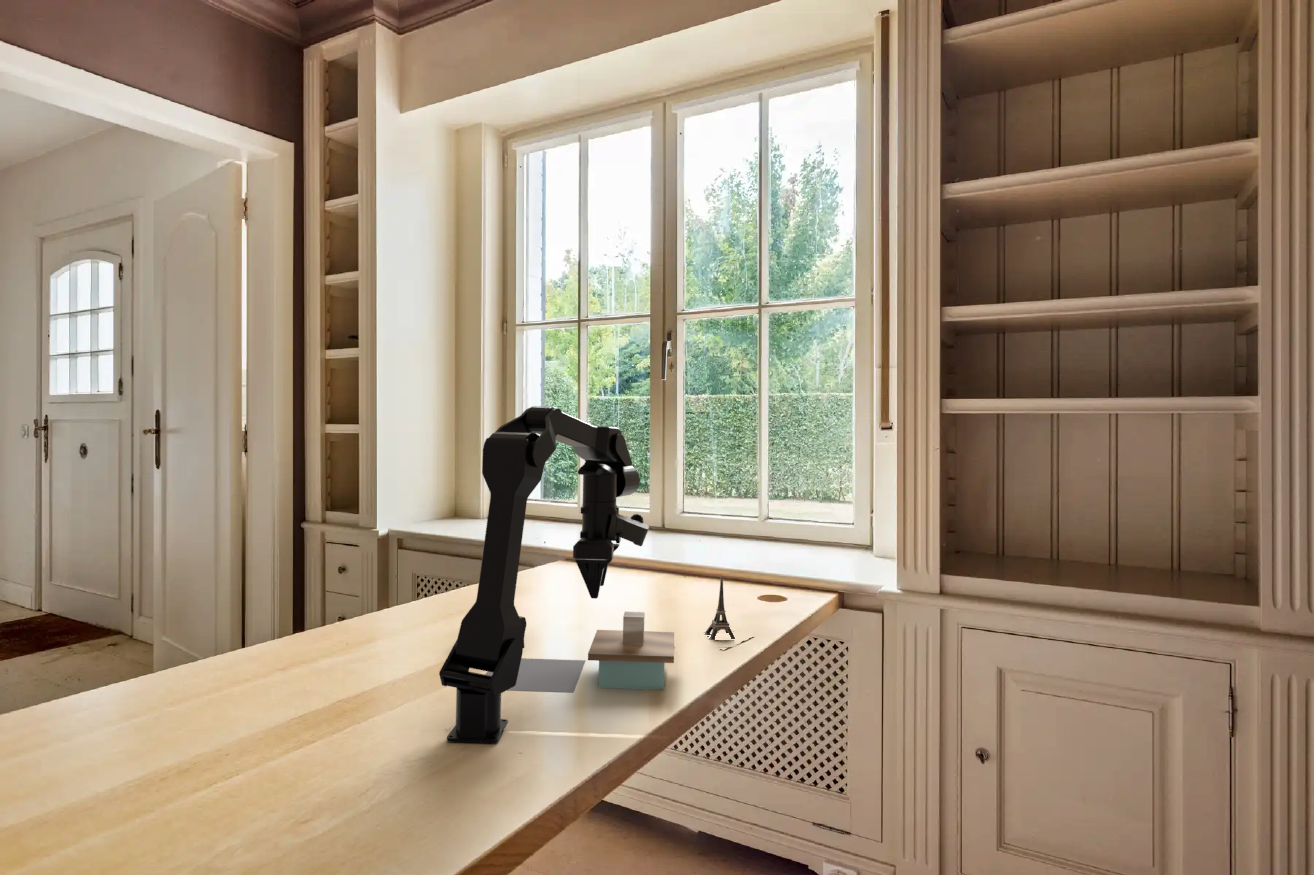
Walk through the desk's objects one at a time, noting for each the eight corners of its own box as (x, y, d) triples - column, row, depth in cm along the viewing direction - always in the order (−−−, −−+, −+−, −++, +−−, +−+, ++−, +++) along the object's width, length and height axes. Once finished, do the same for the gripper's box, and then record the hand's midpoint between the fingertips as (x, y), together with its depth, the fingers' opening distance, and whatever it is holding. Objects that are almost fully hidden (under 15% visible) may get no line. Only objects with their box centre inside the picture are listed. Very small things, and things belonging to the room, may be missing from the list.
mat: (573, 695, 111) (573, 692, 111) (474, 691, 111) (474, 689, 111) (585, 662, 126) (585, 660, 126) (497, 659, 126) (497, 657, 126)
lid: (673, 663, 111) (674, 626, 111) (587, 660, 112) (588, 624, 111) (674, 638, 124) (674, 605, 124) (597, 635, 124) (597, 603, 124)
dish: (663, 692, 113) (664, 659, 113) (598, 689, 113) (599, 657, 113) (664, 670, 123) (665, 640, 123) (604, 668, 123) (605, 638, 123)
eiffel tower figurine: (724, 654, 134) (726, 581, 134) (678, 643, 140) (679, 573, 140) (763, 636, 146) (765, 569, 146) (719, 627, 152) (721, 562, 152)
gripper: (644, 508, 116) (641, 607, 116) (649, 496, 135) (647, 581, 135) (573, 506, 116) (571, 604, 117) (588, 494, 135) (586, 579, 135)
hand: (597, 591), depth 126 cm, fingers open, 9 cm apart
